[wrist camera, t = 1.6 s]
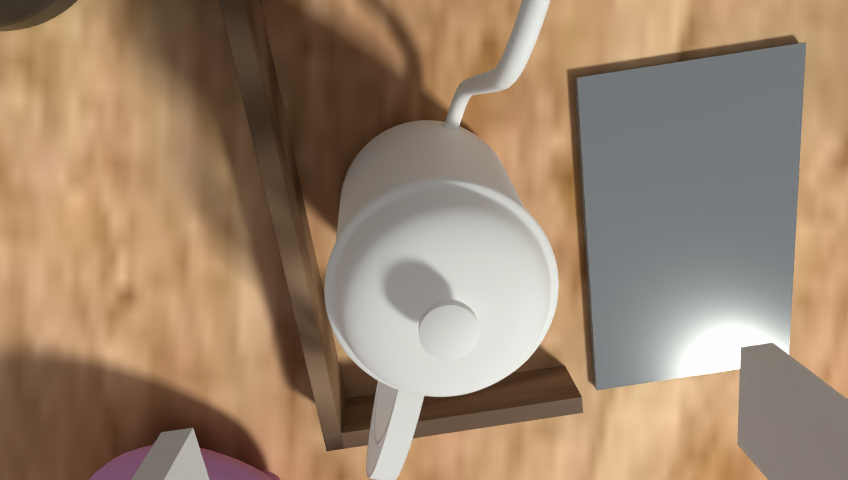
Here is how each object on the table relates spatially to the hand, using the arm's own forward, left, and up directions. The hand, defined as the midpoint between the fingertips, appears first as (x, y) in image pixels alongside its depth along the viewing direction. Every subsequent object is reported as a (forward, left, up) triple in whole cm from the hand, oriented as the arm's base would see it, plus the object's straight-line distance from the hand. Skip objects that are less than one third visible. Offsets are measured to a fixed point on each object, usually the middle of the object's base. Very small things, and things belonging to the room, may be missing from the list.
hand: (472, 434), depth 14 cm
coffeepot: (0, 0, -25) cm, 25 cm away
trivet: (+5, +17, -25) cm, 30 cm away
